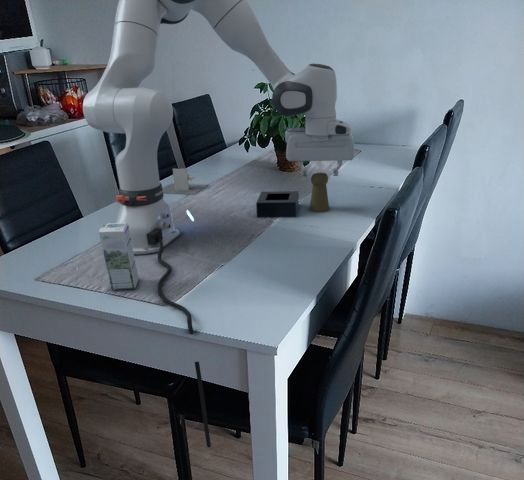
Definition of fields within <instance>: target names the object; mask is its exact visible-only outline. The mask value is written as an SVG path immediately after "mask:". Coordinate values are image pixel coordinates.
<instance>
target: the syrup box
mask: <svg viewBox="0 0 524 480" xmlns="http://www.w3.org/2000/svg"><path fill="white" fill-rule="evenodd" d="M98 235H99V240H100V244H101V248H102V252H103V259H104V263H105V267H106V272H107V275H108V280H109V284H110V289H111V291H119V290H120V291H121V290H134V289H136V287H137V284H138V282H139V274H138V268H137V264H136V259H135V254H134V253H133V247H132V242H131V236H130V231H129V226H128V223H116V222H114V223H103V224H102V225H101V227H100V229H99V231H98Z"/></svg>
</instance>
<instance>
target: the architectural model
mask: <svg viewBox="0 0 524 480" xmlns="http://www.w3.org/2000/svg"><path fill="white" fill-rule="evenodd" d="M172 175H173V182H174V183H171V184H169V185H168V186H166V187H164V188H163V194H181V195H196V194H198V193H199V192H201V191H203V190H204V189H205V188H206V187H207V188H208V185H203V184H202V185H200V184H189V181H190V182H192V181H193V180H195V179H196V177H192V176H190V175H189V174H188V169H187V168H184V167H182V168H172Z"/></svg>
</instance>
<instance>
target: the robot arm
mask: <svg viewBox="0 0 524 480" xmlns="http://www.w3.org/2000/svg"><path fill="white" fill-rule="evenodd" d="M191 10H192V11H194V12H197V13H198V14H200V15H201V16H202V17H203V18H204V19H205V20H206V21H207V23H208V24H209V26H210V27H211V28H212V30H213V31H214V32H215V34H216V35H217V36H218V37H219V38H220V39H221V41H222V42H224V44H225V45H226V46H227V47H228V48H230V49H231V50H232V51H234V52H237V53H239V54H241V55H243V56H245V57H247V58H248V59H249V60H250V61H251V62H253V63H254V65H255V66H256V67H257V68H258V70H259V71H260V72H261V74H262V75H263V76H264V77H265V79H266V80H267V82H268V83H269V84H270V86H271V87H272V90H273V91H272V95H271V103H272V106H273V108H274V110H275V111H276V113H278V114H279V115H281V116H284V117H294V116H298V115H301V114H304V118H305V119H304V126H305V127H304V126H302V127H301V126H300V127H290V128H289V129H287V130H286V131H285V133H284V141H285V143H286V149H285V150H286V151H285V158H286V160H287V161H288V162H297V165H298V167H299V169H300V171H301V177H307V176H308V169H307V168H304V166H303V165H304V162H333V161H335V162H336V161H337V167H336V168H333V171H332V172H333V173H332V176H333V177H339V170H340V169H341V167H342V166H343V161H353V160H354V158H355V157H356V153H355V152H356V151H355V141H354V136H353V134H352V133H351V132H352V125H351V124H350V123H349V122H347V121H344V120H340V119H337V111H336V103H337V97H338V96H337V95H338V94H337V93H338V92H337V91H338V89H337V86H338V85H337V74H336V71H335V70H334V69H333V67H331V66H329V65H327V64H321V63H310V64H308V65H306V67H305V68H303V69H302V70H300V71H299V72H297V73H294V72H292V71H290V69H288V67H287V66H286V65H285V63H284V62H283V60H282V59H281V58H280V57H279V55H277V53H276V52H275V50H274V48H273V47H272V46H271V45H270V43H269V42H268V39H267V38H266V35H265V33H264V31H263V29H262V27H261V25H260V23H259V20H258V18H257V17H256V14H255V13H254V10H253V9H252V7H251V6H250V4H249V2H248V1H247V0H118V4H117V7H116V10H115V11H116V12H115V17H114V24H113V33H112V41H111V48H110V55H109V59H108V62H107V64H106V67H105V70H104V71H103V73H102V75H101V77H100V79H99V81H98V82H97V84H95V86H94V87H93V88H92V89H91V90H89V91H88V93H86V94H85V96H84V99H83V102H82V113H83V117H84V118H85V121H86V123H87V124H88V125H89V126H90V127H91V128H92V129H95V130H98V131H101V132H104V133H108V134H125V138H126V139H125V147H124V148H123V149H122V150H121V151H120V152H118V154H117V155H116V157H115V163H114V164H115V168H116V174H117V179H118V184H119V185H118V186H119V187H118V194H117V195H116V196H115V197H116V198H115V200H116V202H117V204H119V209H118V211H117V212H118V213H117V216H116V220H115V223H128V226H129V231H130V236H131V242H132V247H133V253H134V255H147V254H155V253H157V261H158V263H160V264H161V265H162V266H164V267H165V268H167V270H166V272H165V273H164V274H163V275H162V276H161V278H160V279H159V280H158V283H157V293H158V296H159V298H160V299H161V300H162V301H163V302H164V303H165V304H167V305H169V306H171V307H173V308H175V309H178V310H179V311H182V312H183V313H184V314H185V316H186V322H187V329H188V334H189V335H194V328H193V321H192V320H193V319H192V318H193V317H192V314H191V313H190V311H189V310H188V309H187V308H186V307H185V306H183V305H181V304H180V303H177V302H174V301H172V300H170V299H168V297H166V296H165V295H164V292H163V283H164V282H165V281H166V279H168V277H169V276H170V274H171V272H172V266H171V265H170V264H169V263H167V262H165V261H164V260H163V259H162V255H163V252H164V248H165V247H166V246H167V245H169V244H170V243H171V242H172V241H174V240H175V239H176V238H177V237H179V236H180V234H181V233H180V232H181V231H180V230H179V229H177V228H175V224H174V220H173V219H174V218H173V215H172V214H173V213H172V210H171V206H170V205H169V203H167V202H166V201H165V199H164V193H163V189H164V188H163V185H162V183H161V181H160V174H159V165H158V164H159V163H158V149H159V145H160V142H161V139H162V137H163V135H164V134H165V132H166V131H168V130H169V128H170V126H171V125H172V122H173V119H174V108H173V105H172V104H173V103H172V101H171V99H170V98H169V96H168V95H167V94H166V93H165V92H163V91H160V90H157V89H153V88H149V87H139V86H140V85H141V83H142V82H143V81H144V80H145V79H146V78H147V77H149V76H150V75H151V74H152V73H153V71H154V69H155V67H156V61H157V60H156V59H157V51H158V43H159V42H158V41H159V34H160V25H162V24H163V25H177V24H180V23H181V22H183V21H184V20H185V19H186V18H187V17H188V15H189V14H190V12H191ZM186 214H187V215H188V217H189V218H190V220H191V221H192V222H194V221H195V219H194V217H193V216H192V214H191V212H190V211H189V210H188V209H187V210H186ZM194 368H195V374H196V379H197V387H198V393H199V399H200V407H201V414H202V415H201V416H202V421H203V422H202V423H203V427H204V435H205V443H206V448H211V447H212V444H211V438H210V437H211V436H210V430H209V421H208V415H207V407H206V400H205V392H204V385H203V378H202V371H201V365H200V361H194Z"/></svg>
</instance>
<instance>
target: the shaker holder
mask: <svg viewBox="0 0 524 480" xmlns="http://www.w3.org/2000/svg"><path fill="white" fill-rule="evenodd" d="M299 196H300V195H299V190H283V191H279V190H277V191H273V190H272V191H261V192H260V194H259V195H258V198H257V201H256V202H255V204H256V205H255V206H256V208H255V209H256V218H296V217H297V214H298V210H299V205H300V204H299V203H300V202H299V201H300V198H299Z"/></svg>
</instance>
